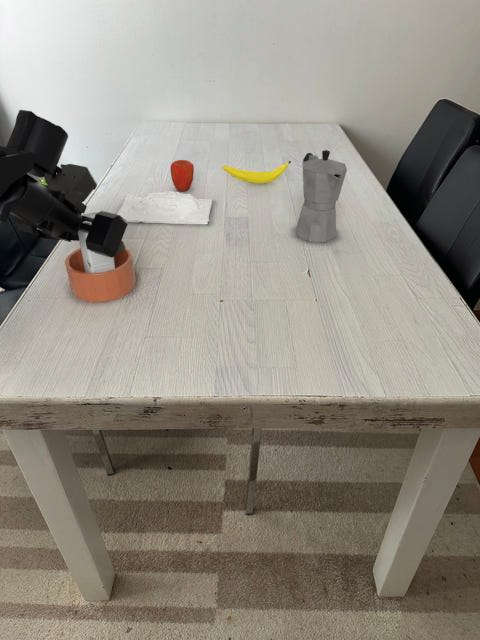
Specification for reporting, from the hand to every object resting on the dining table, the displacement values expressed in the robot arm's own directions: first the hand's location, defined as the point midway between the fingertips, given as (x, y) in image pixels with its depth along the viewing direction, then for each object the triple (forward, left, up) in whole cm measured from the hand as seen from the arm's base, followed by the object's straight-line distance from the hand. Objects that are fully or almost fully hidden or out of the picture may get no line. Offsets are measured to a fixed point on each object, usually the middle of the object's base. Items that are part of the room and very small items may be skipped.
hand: (102, 243), depth 76 cm
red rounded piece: (+27, +40, -8) cm, 49 cm away
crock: (-1, -1, -8) cm, 8 cm away
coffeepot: (+46, +4, -8) cm, 47 cm away
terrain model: (+18, +27, -8) cm, 34 cm away
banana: (+47, +37, -8) cm, 60 cm away
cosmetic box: (-1, -1, -7) cm, 7 cm away
